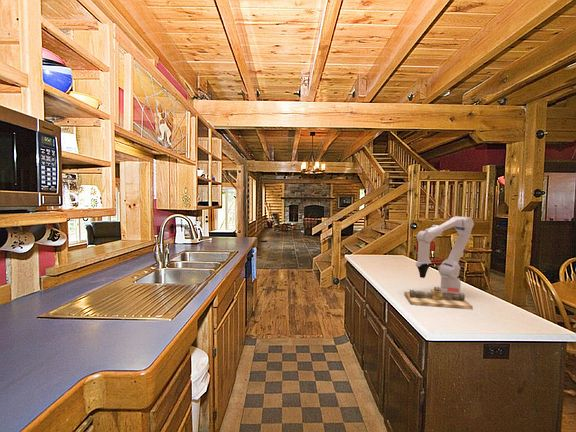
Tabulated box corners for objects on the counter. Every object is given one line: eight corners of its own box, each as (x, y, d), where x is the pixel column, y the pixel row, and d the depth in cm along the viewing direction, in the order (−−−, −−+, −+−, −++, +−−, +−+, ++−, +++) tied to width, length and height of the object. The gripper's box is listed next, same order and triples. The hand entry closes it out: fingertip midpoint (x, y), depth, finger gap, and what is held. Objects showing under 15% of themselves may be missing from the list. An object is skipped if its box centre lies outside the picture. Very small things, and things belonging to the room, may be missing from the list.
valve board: (459, 298, 160) (460, 287, 159) (472, 309, 144) (473, 297, 143) (404, 294, 164) (404, 284, 164) (411, 304, 149) (411, 293, 148)
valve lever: (434, 290, 153) (435, 287, 153) (433, 289, 155) (433, 286, 155) (458, 292, 151) (458, 289, 151) (456, 290, 153) (456, 287, 153)
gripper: (425, 255, 156) (424, 281, 156) (436, 252, 166) (435, 276, 166) (412, 253, 161) (411, 278, 162) (423, 250, 171) (422, 274, 172)
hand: (422, 277), depth 164 cm, fingers closed
